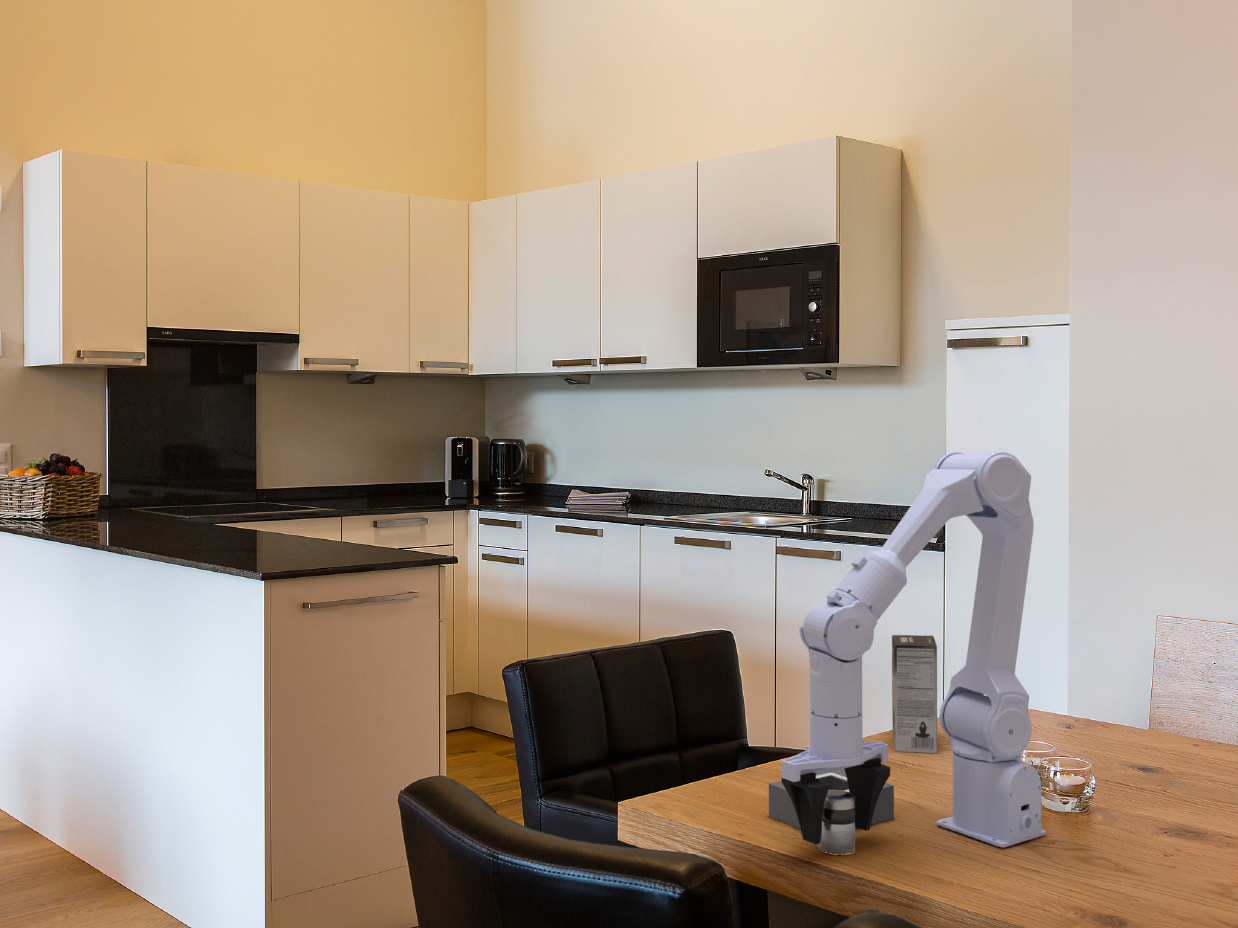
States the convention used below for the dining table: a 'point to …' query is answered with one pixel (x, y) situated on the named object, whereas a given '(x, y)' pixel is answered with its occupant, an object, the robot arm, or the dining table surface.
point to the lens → (838, 823)
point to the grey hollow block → (836, 780)
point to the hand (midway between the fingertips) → (836, 834)
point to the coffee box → (914, 693)
